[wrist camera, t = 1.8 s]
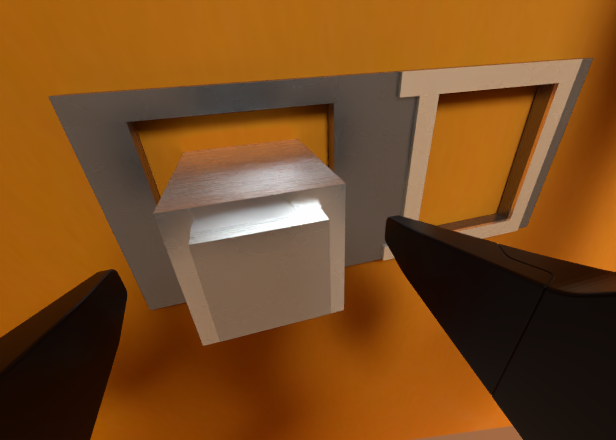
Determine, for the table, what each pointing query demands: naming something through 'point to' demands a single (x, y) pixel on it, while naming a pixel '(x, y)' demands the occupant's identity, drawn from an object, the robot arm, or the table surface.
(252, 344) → the table surface
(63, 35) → the table surface
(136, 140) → the rail
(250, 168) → the grey upright rectangular block
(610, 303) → the robot arm
